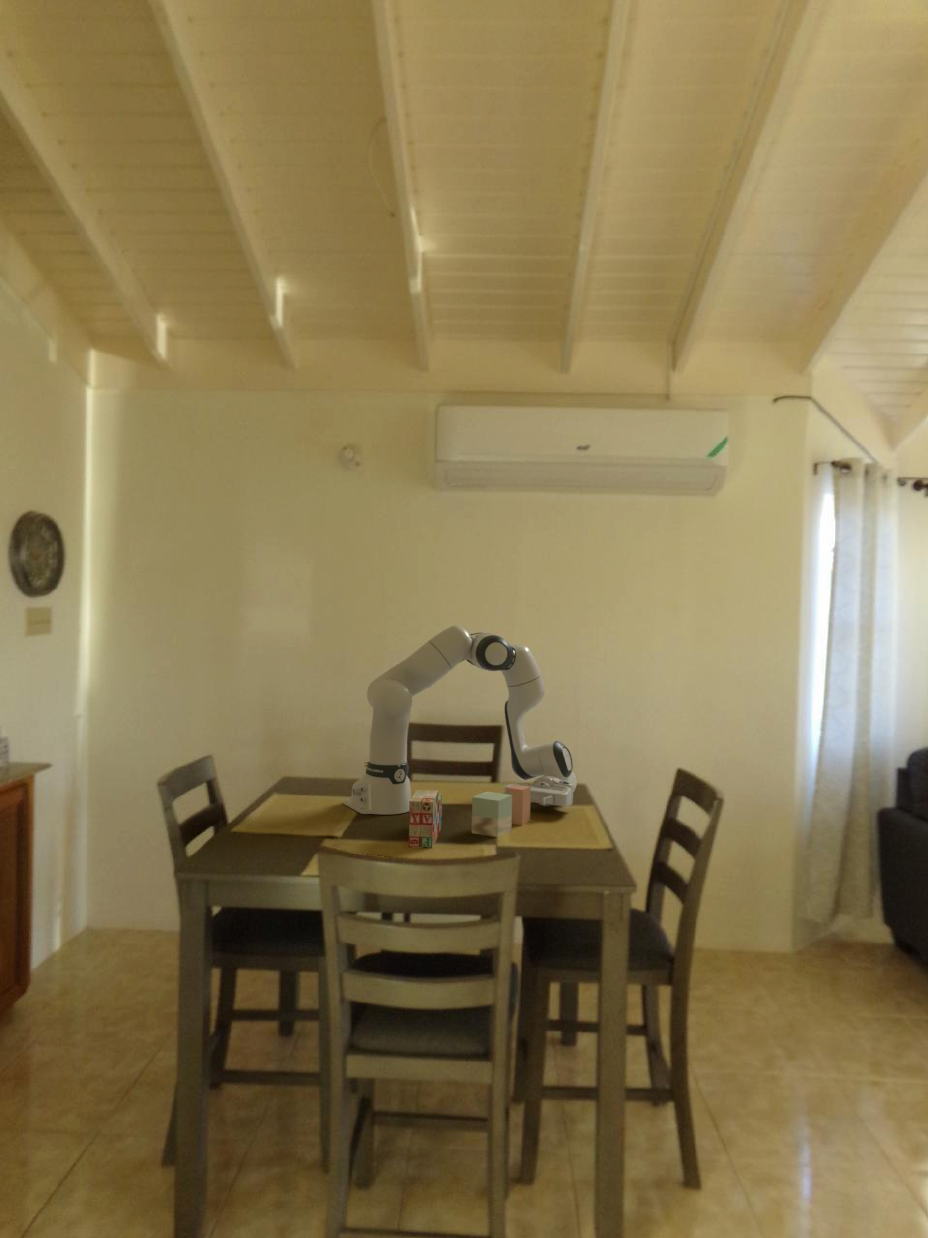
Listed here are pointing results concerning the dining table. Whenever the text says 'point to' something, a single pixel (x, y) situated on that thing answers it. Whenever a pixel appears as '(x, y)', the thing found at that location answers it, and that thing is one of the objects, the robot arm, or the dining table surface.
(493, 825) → the tower bottom
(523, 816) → the tall block
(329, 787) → the dining table surface
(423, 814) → the stack of blocks
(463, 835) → the dining table surface
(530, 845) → the dining table surface
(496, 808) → the tower top
